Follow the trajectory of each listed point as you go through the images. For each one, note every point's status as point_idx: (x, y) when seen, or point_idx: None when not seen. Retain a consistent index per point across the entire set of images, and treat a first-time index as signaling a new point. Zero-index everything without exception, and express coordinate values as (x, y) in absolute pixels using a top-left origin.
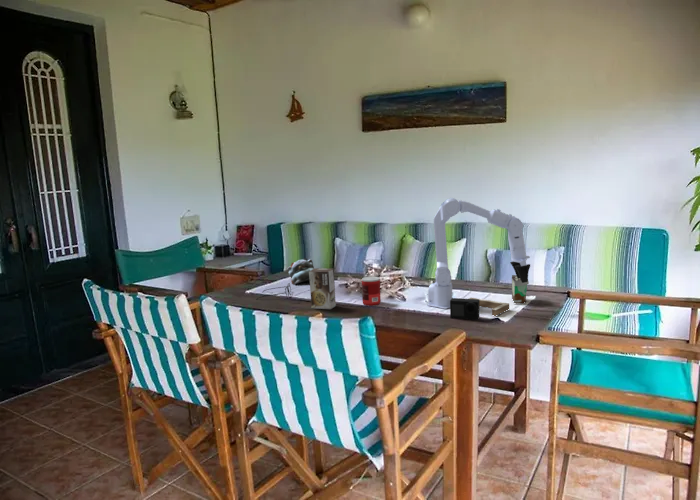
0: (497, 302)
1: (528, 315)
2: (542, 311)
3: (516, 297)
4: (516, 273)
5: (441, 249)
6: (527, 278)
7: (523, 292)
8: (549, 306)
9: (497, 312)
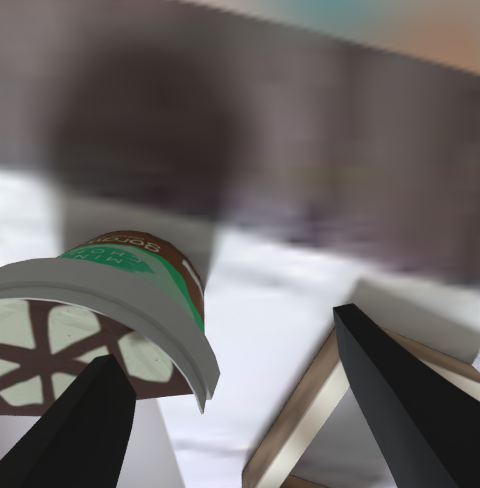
0: (338, 394)
1: (451, 209)
2: (356, 122)
3: (200, 301)
4: (116, 471)
5: None
6: (380, 330)
7: (162, 271)
8: (216, 68)
9: (468, 370)
